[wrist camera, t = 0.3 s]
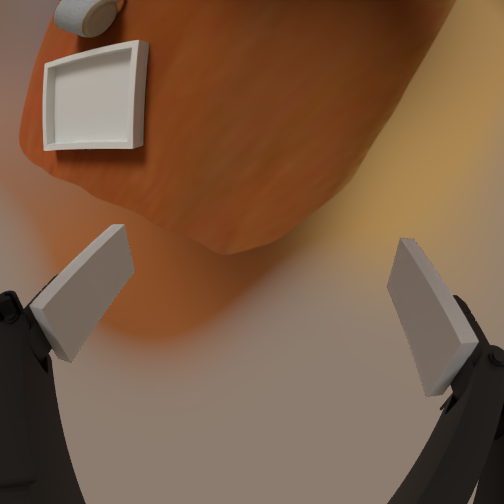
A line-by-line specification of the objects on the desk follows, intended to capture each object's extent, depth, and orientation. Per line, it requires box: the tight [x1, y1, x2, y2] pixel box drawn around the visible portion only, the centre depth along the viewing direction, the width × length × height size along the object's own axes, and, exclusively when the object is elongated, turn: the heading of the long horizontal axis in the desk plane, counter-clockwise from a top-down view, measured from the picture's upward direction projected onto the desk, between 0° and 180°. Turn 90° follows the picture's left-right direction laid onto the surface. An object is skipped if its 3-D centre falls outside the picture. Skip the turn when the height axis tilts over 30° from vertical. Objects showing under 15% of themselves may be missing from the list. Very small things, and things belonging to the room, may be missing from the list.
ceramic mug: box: [54, 0, 119, 38], centre depth 25 cm, size 11×8×8 cm
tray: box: [43, 40, 149, 151], centre depth 35 cm, size 16×20×3 cm
